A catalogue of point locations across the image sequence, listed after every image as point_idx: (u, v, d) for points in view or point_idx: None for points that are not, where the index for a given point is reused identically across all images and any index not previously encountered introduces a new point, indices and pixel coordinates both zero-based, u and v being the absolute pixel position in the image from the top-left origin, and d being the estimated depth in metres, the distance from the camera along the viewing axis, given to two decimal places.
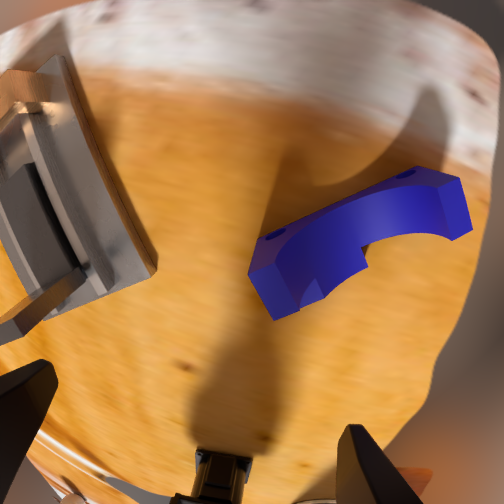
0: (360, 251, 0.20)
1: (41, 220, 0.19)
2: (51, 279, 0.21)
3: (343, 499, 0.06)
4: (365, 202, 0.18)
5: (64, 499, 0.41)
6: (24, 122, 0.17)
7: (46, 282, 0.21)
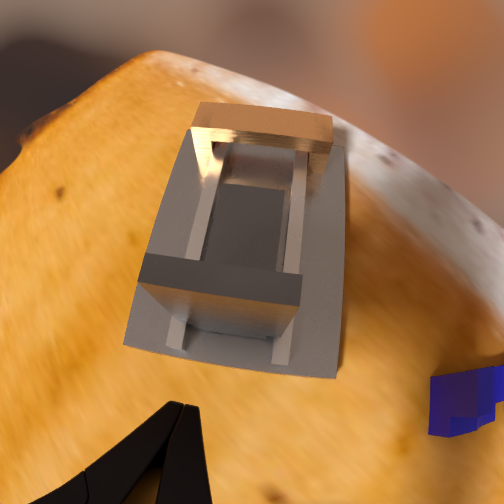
0: (494, 406, 0.17)
1: (269, 246, 0.20)
2: None
3: None
4: None
5: None
6: (299, 164, 0.24)
7: None
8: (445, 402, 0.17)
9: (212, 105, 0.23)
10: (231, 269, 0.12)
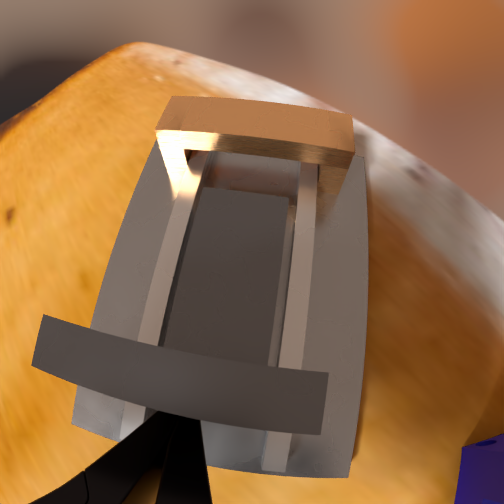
0: None
1: (266, 278, 0.14)
2: None
3: None
4: None
5: None
6: (306, 182, 0.17)
7: None
8: (478, 481, 0.10)
9: (186, 100, 0.16)
10: (186, 361, 0.05)
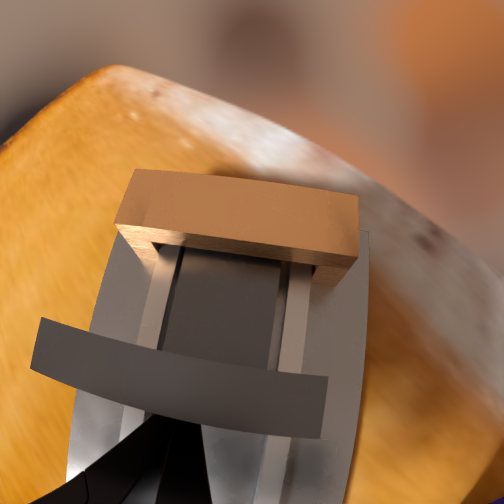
0: None
1: (266, 278, 0.14)
2: None
3: None
4: None
5: None
6: (298, 280, 0.15)
7: None
8: None
9: (152, 176, 0.14)
10: (185, 365, 0.05)
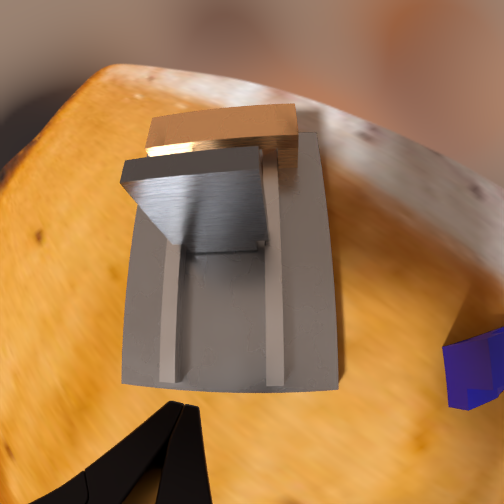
0: None
1: None
2: None
3: None
4: None
5: None
6: (268, 163, 0.22)
7: None
8: (460, 373, 0.16)
9: (164, 119, 0.21)
10: (196, 154, 0.13)
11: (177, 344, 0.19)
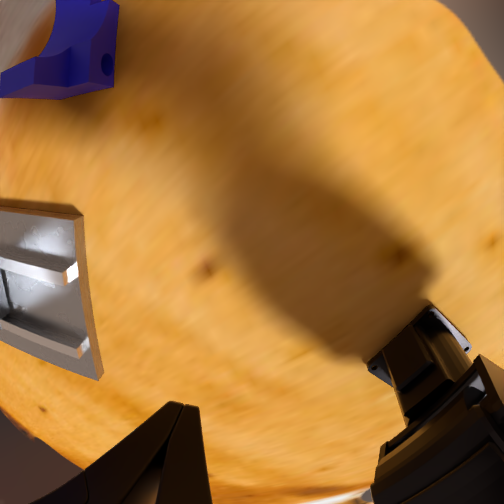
0: (92, 5, 0.13)
1: None
2: None
3: None
4: (60, 0, 0.12)
5: None
6: None
7: None
8: (62, 91, 0.14)
9: None
10: None
11: (56, 338, 0.21)
